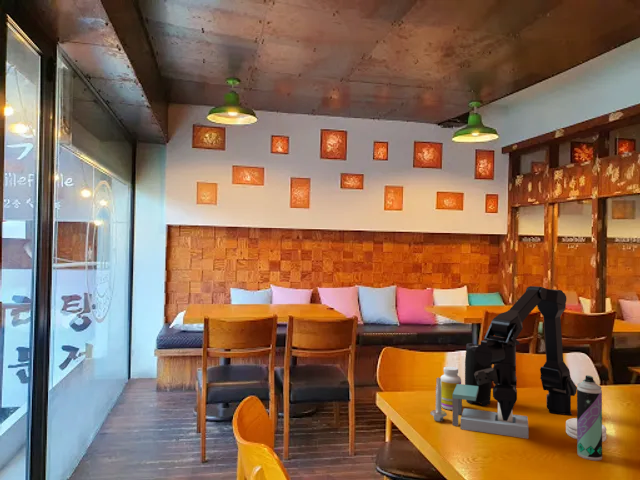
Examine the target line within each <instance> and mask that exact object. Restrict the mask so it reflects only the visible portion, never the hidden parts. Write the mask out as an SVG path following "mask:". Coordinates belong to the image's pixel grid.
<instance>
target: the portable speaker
mask: <svg viewBox="0 0 640 480" xmlns="http://www.w3.org/2000/svg"><path fill="white" fill-rule="evenodd" d="M479 345H481V343H479V344H476V343H470V342H469V343H466V345H465V347H466V348H465V359H464V385H472V386H478V394H477V398H476V401H472V400H465V401H466V403H467V404H469V405H472V404H473V403H474V404H480V405H481V406H483V407H486V406H490V405H491V396H492V382H489V383H484V384H483V385H478V384H477V381H476V380H475V379H476V378H475V376H474V374H475V372H477V371H480V370H484V369H488V368H492V365H487V366H483V365H481V364H479V363H478V362H477V360H476V358H475V350H476V348H477V347H478V346H479Z"/></svg>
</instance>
